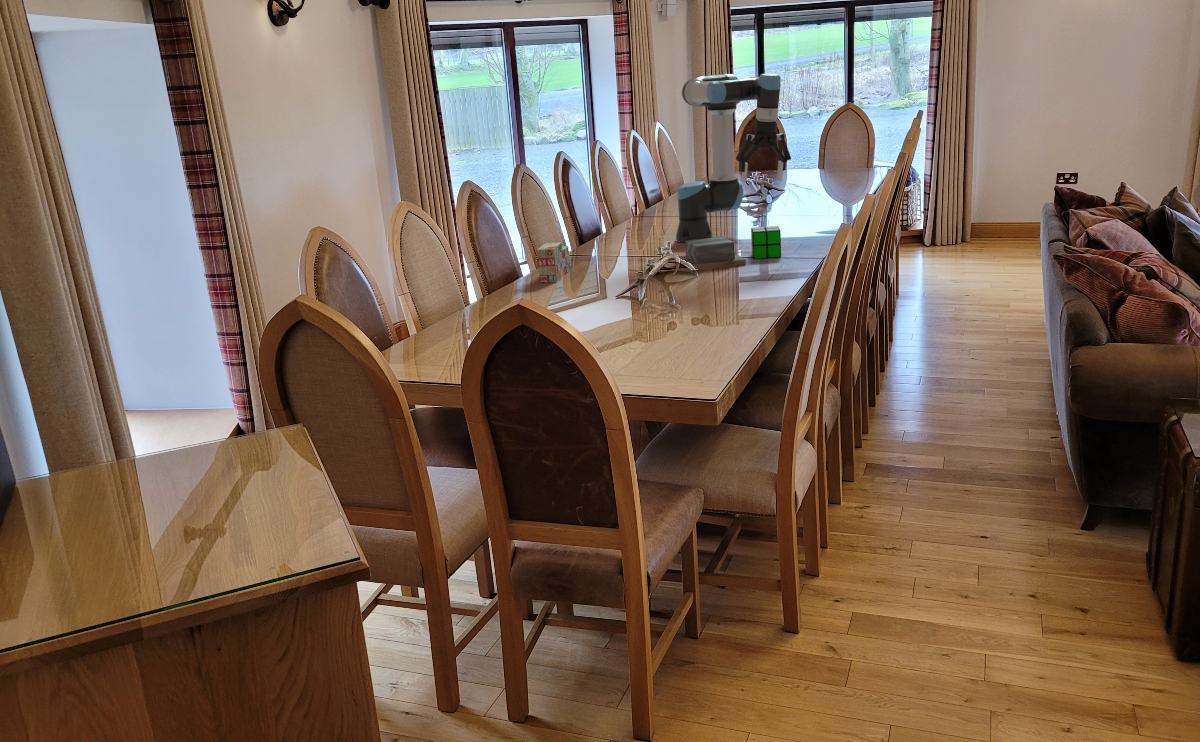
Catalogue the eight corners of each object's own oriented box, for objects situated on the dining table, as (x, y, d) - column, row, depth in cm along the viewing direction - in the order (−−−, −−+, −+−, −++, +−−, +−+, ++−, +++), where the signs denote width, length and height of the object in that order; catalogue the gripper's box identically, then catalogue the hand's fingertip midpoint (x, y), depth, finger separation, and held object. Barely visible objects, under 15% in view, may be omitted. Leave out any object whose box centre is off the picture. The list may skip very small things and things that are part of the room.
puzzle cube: (778, 252, 347) (778, 225, 344) (781, 257, 337) (780, 230, 334) (751, 254, 348) (750, 227, 345) (753, 259, 338) (752, 231, 335)
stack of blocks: (554, 271, 349) (551, 238, 345) (570, 270, 347) (567, 237, 344) (540, 283, 329) (536, 249, 325) (557, 282, 327) (553, 248, 324)
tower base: (676, 261, 345) (675, 240, 343) (728, 255, 348) (727, 234, 346) (691, 271, 326) (690, 248, 324) (745, 264, 329) (745, 242, 327)
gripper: (737, 122, 322) (732, 183, 330) (803, 120, 328) (798, 181, 336) (729, 119, 329) (725, 179, 337) (794, 118, 334) (789, 177, 342)
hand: (761, 180), depth 336 cm, fingers open, 13 cm apart
